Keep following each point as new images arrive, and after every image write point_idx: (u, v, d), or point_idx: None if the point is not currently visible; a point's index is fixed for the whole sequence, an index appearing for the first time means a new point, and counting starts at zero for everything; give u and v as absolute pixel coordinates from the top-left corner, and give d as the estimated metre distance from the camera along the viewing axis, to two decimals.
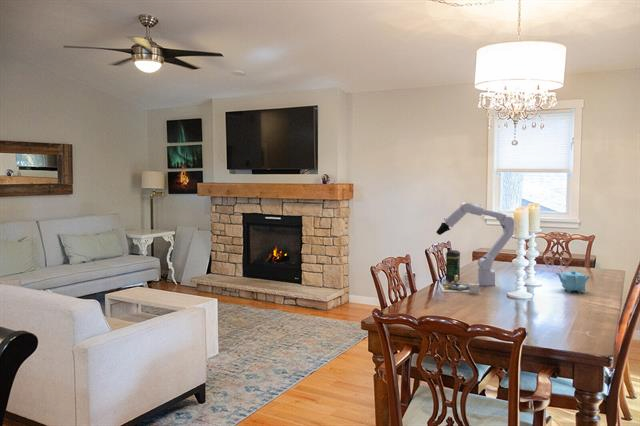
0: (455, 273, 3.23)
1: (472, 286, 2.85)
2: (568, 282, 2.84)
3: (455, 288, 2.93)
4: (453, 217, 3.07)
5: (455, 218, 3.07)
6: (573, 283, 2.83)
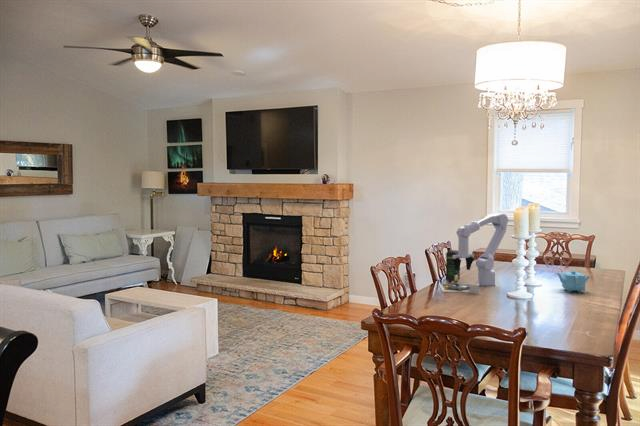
0: (455, 273, 3.23)
1: (472, 286, 2.85)
2: (568, 282, 2.84)
3: (455, 288, 2.93)
4: (458, 248, 3.05)
5: (459, 247, 3.03)
6: (573, 283, 2.83)
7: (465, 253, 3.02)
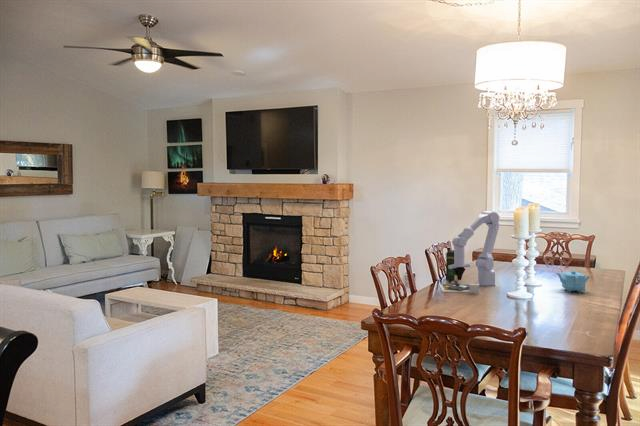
0: (455, 273, 3.23)
1: (472, 286, 2.85)
2: (568, 282, 2.84)
3: (455, 288, 2.93)
4: (454, 258, 3.04)
5: (455, 257, 3.02)
6: (573, 283, 2.83)
7: (461, 263, 3.01)
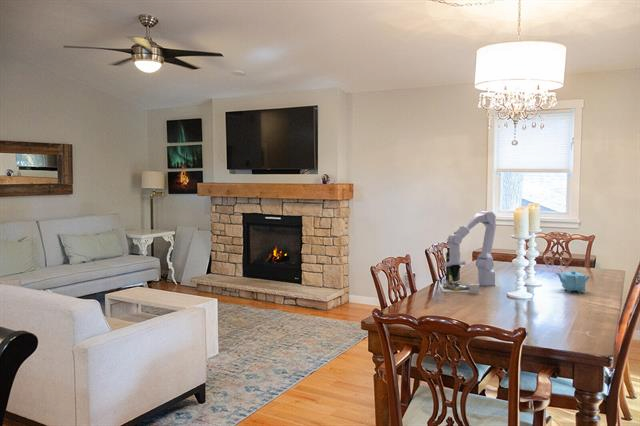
0: None
1: (472, 286, 2.85)
2: (568, 282, 2.84)
3: (464, 288, 2.93)
4: None
5: (450, 255, 3.01)
6: (573, 283, 2.83)
7: (456, 261, 3.00)
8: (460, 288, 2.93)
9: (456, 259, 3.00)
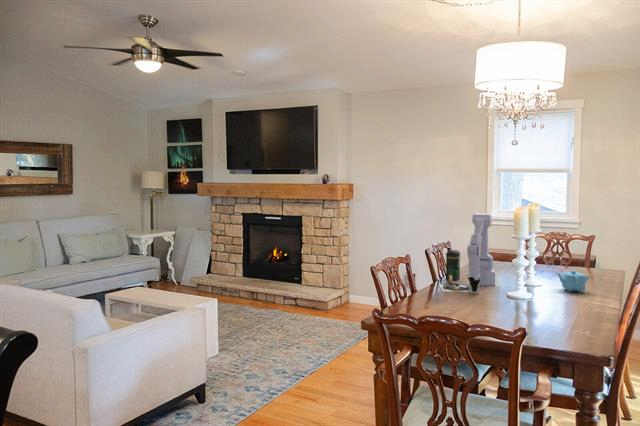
0: (455, 273, 3.23)
1: None
2: (568, 282, 2.84)
3: (464, 288, 2.93)
4: (473, 268, 2.83)
5: (475, 267, 2.83)
6: (573, 283, 2.83)
7: (479, 272, 2.85)
8: (460, 288, 2.93)
9: (479, 270, 2.85)
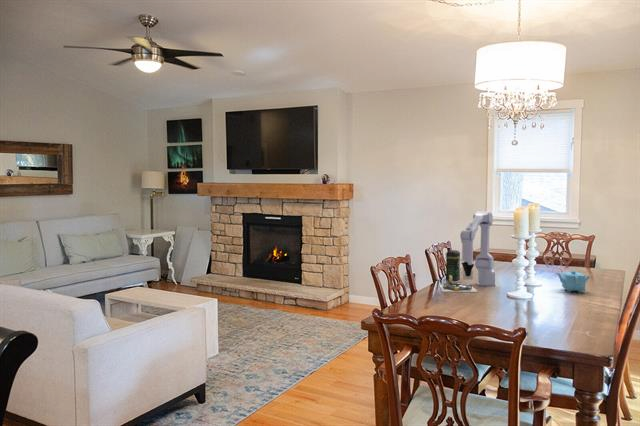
0: (455, 273, 3.23)
1: None
2: (568, 282, 2.84)
3: (464, 288, 2.93)
4: (466, 253, 2.85)
5: (469, 252, 2.85)
6: (573, 283, 2.83)
7: (472, 257, 2.87)
8: (460, 288, 2.93)
9: (472, 255, 2.87)
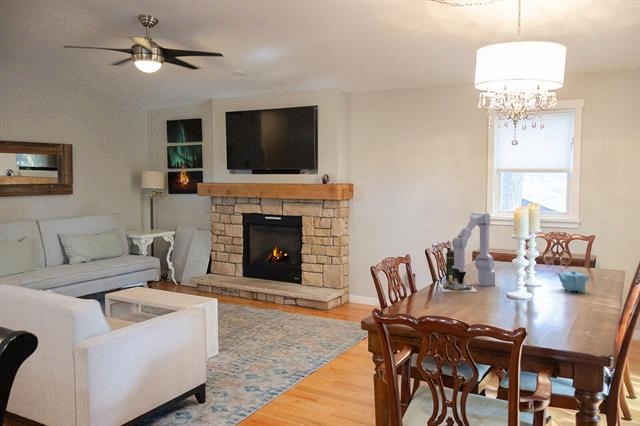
0: None
1: (457, 280, 2.91)
2: (568, 282, 2.84)
3: (464, 288, 2.93)
4: (458, 260, 2.89)
5: (460, 259, 2.89)
6: (573, 283, 2.83)
7: (464, 264, 2.91)
8: (460, 288, 2.93)
9: (464, 263, 2.91)
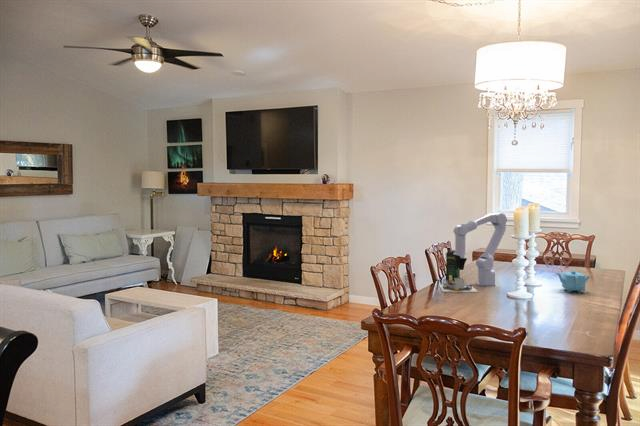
0: (455, 273, 3.23)
1: (457, 280, 2.91)
2: (568, 282, 2.84)
3: (464, 288, 2.93)
4: (459, 247, 3.03)
5: (461, 246, 3.03)
6: (573, 283, 2.83)
7: None
8: (460, 288, 2.93)
9: None
